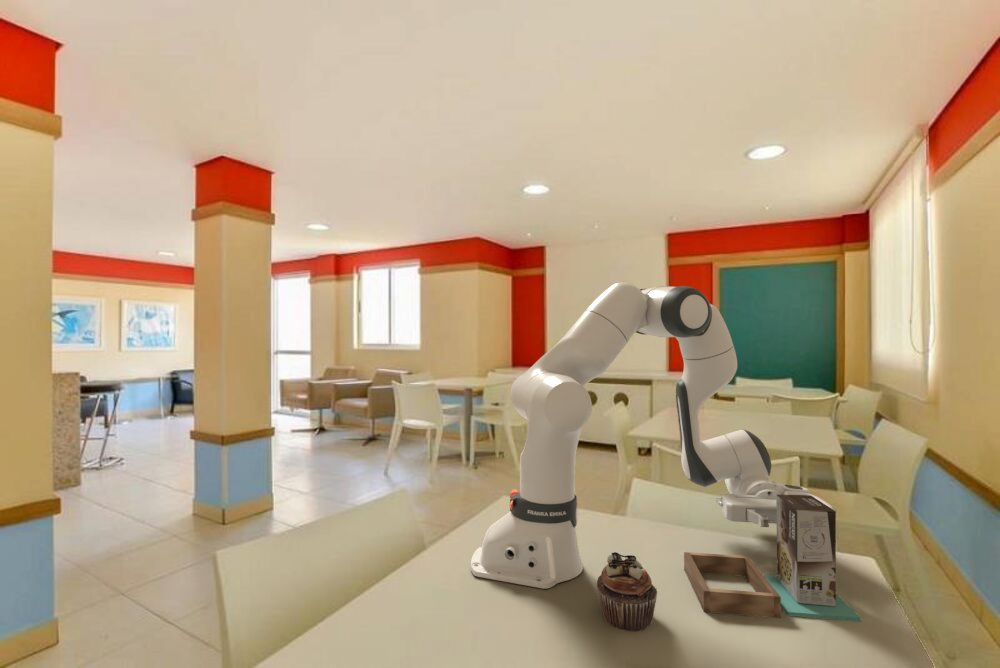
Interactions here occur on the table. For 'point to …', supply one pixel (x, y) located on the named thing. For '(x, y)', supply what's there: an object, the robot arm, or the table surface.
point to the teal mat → (811, 605)
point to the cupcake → (626, 593)
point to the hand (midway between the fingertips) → (791, 524)
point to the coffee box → (806, 549)
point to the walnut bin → (731, 601)
